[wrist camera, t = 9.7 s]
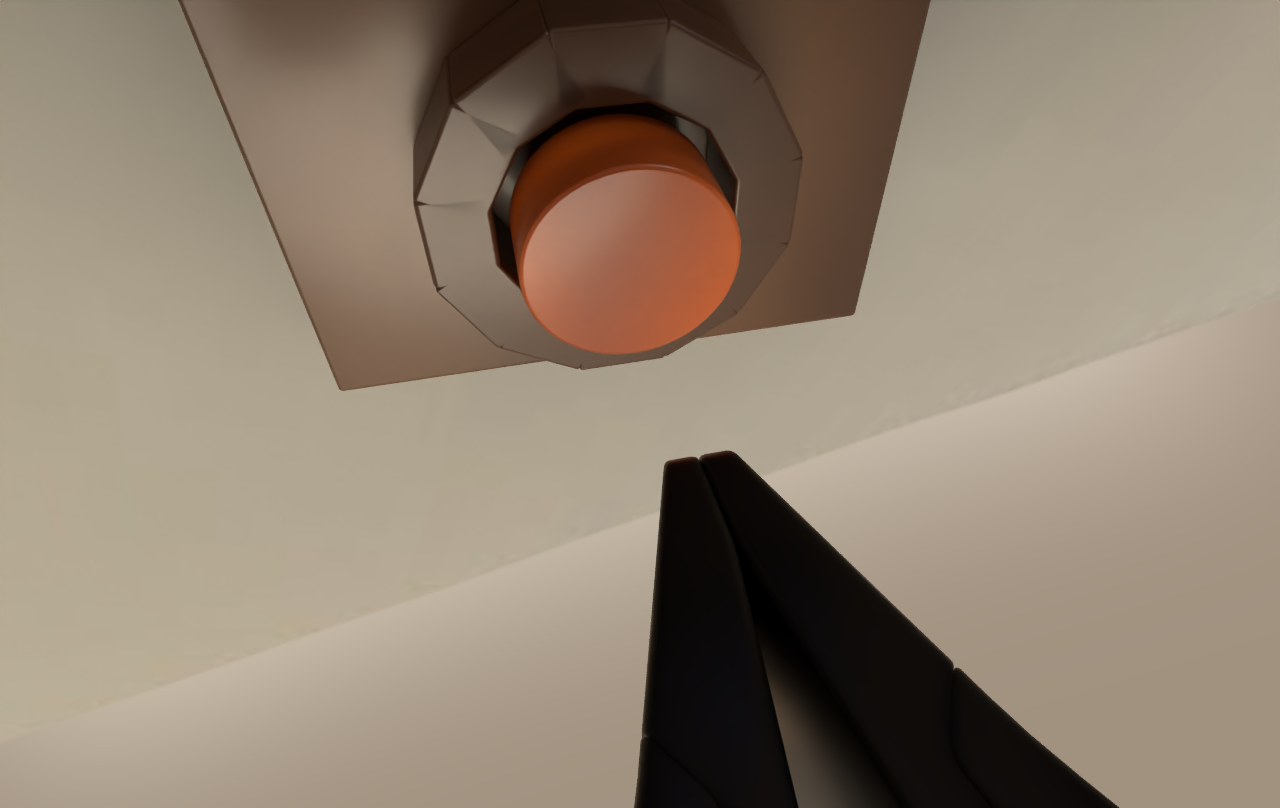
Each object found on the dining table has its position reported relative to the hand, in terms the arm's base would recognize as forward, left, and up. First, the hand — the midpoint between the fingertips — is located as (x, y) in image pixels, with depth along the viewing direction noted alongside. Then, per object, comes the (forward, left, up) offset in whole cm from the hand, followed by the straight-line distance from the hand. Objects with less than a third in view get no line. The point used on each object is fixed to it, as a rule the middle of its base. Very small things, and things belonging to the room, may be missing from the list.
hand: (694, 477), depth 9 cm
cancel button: (0, 0, -6) cm, 6 cm away
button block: (0, 0, -9) cm, 9 cm away
